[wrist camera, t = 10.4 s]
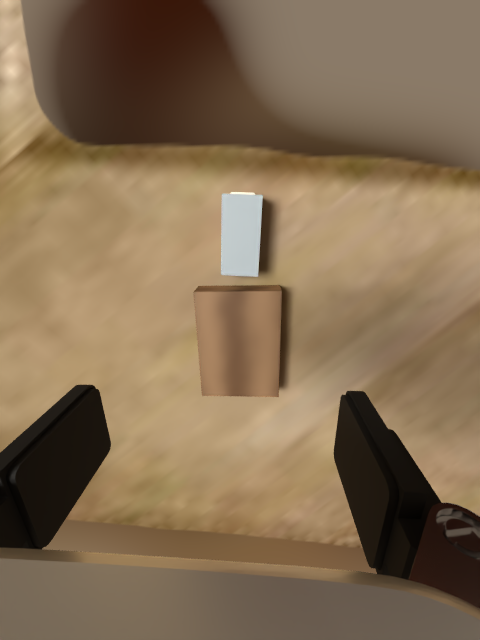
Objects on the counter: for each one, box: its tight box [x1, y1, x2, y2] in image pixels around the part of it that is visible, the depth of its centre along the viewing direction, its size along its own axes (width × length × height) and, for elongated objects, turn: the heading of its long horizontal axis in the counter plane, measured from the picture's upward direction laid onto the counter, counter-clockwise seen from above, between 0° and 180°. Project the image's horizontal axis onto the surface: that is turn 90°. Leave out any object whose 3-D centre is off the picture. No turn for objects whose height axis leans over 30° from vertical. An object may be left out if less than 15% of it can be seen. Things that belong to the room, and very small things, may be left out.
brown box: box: [194, 285, 282, 397], centre depth 34 cm, size 10×14×3 cm
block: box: [221, 192, 263, 277], centre depth 30 cm, size 4×4×8 cm
